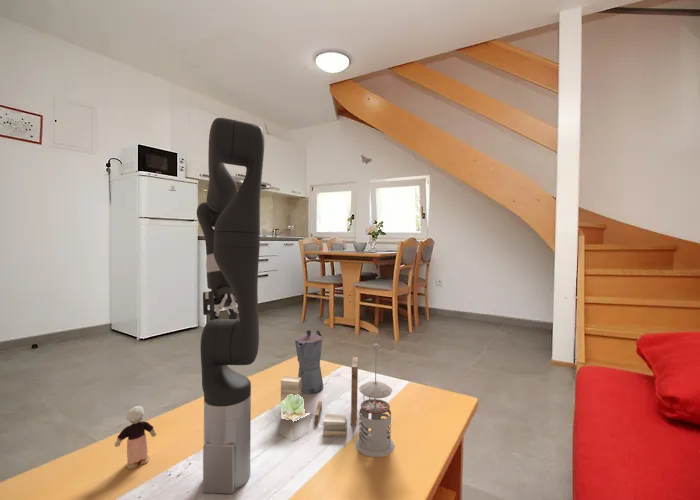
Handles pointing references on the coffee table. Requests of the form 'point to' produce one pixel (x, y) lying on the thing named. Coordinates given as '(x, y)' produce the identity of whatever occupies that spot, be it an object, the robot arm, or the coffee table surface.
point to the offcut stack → (335, 425)
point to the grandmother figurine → (136, 437)
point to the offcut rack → (353, 396)
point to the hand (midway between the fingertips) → (225, 329)
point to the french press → (375, 419)
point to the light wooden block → (290, 386)
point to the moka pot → (309, 361)
